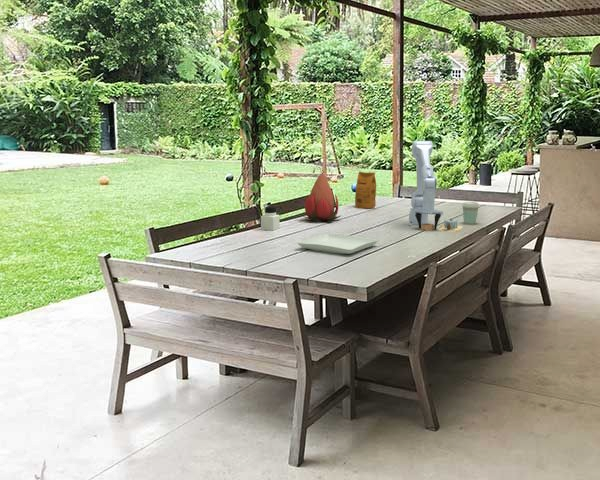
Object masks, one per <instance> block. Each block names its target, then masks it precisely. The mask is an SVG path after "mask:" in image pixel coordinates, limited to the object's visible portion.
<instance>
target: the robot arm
mask: <svg viewBox="0 0 600 480" xmlns="http://www.w3.org/2000/svg"><path fill="white" fill-rule="evenodd" d="M433 149H434V145H433V141H432V140H414V141H412V145H411V153H412V154H411V155H412V157H413V158H414V159H415V164H416V165H415V168H416V170H415V171H416V190H414V191H413V193H412V192H411V193H412V194H411V201H410V204H411V207H412V208H410V209H409V217H408V226H409V227H411V226H413V225H417V226H418V228H419V229H422V224H424V223H427V224H428V223H429V222H428V221H429V220H428V219H429V218H428V217H429V215H434V224H433V225H434V230H437V226H438V223H439V221H440V219H441V217H442V216H443V215H444V210H438V209H435V200H436V199H435V197H436V194H435V193H436V189H437V187H438V186H437V184H438V182H437V178H436V175H435V173H434V168H433V165H431V160H430V157H431V155H432V152H433Z"/></svg>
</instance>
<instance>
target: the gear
mask: <svg viewBox="0 0 600 480" xmlns="http://www.w3.org/2000/svg"><path fill="white" fill-rule="evenodd" d="M447 223H450V228H451V229H453V228H457V226H458V220H456V219H453V218H451V217H450V218H449V219H444V224H443V225H444V227H445V228H447Z"/></svg>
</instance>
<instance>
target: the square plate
mask: <svg viewBox="0 0 600 480" xmlns="http://www.w3.org/2000/svg"><path fill="white" fill-rule="evenodd" d="M378 242H379V240H378V239H374V238H368V237H362V236H355V235H347V234H336V233H324V234H320V235H316V236H312V237H310V238H306V239H303V240H301V241H298V242H297V244H298V246H300V247H301V248H303V249H308V250H311V251H318V252H324V253H330V254H331V253H333V254H338V255H339V254H341V255H351V254H354V253H357V252H359V251H363V250H364V249H367V248H370V247H373V246H375V245H376V244H377V243H378Z"/></svg>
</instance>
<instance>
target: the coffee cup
mask: <svg viewBox="0 0 600 480" xmlns="http://www.w3.org/2000/svg"><path fill="white" fill-rule="evenodd" d="M479 207H480V205H479V203H478V202H474V201H464V202H463V203H462V216H463V224H464V225H470V226H472V225H473V226H474V225H476V223H477V219H478V218H477V217H478V212H479Z"/></svg>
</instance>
